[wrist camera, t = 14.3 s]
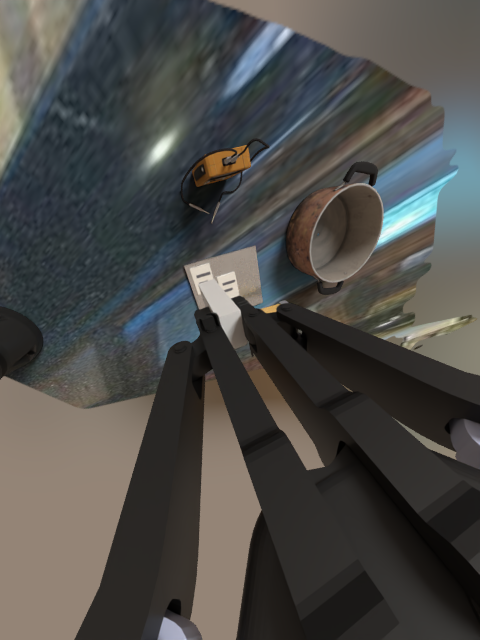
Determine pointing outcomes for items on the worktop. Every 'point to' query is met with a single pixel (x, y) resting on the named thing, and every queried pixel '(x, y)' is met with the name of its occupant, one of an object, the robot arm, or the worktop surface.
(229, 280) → the label
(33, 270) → the worktop surface
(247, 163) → the multimeter
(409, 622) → the robot arm
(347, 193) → the cooking pot
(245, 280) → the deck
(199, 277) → the label
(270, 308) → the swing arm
